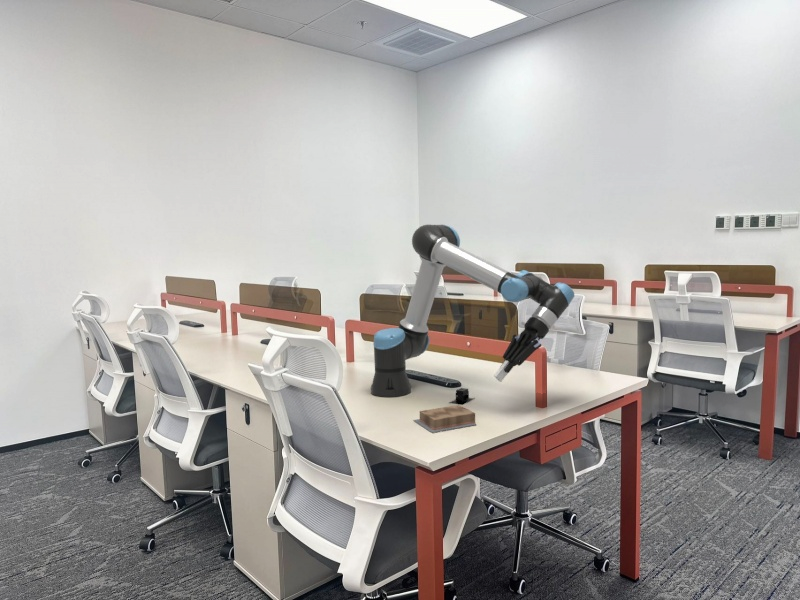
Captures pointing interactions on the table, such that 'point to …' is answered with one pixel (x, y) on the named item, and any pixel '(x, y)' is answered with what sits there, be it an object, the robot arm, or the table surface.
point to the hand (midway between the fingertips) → (497, 378)
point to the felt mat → (443, 428)
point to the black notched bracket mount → (462, 397)
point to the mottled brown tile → (447, 417)
